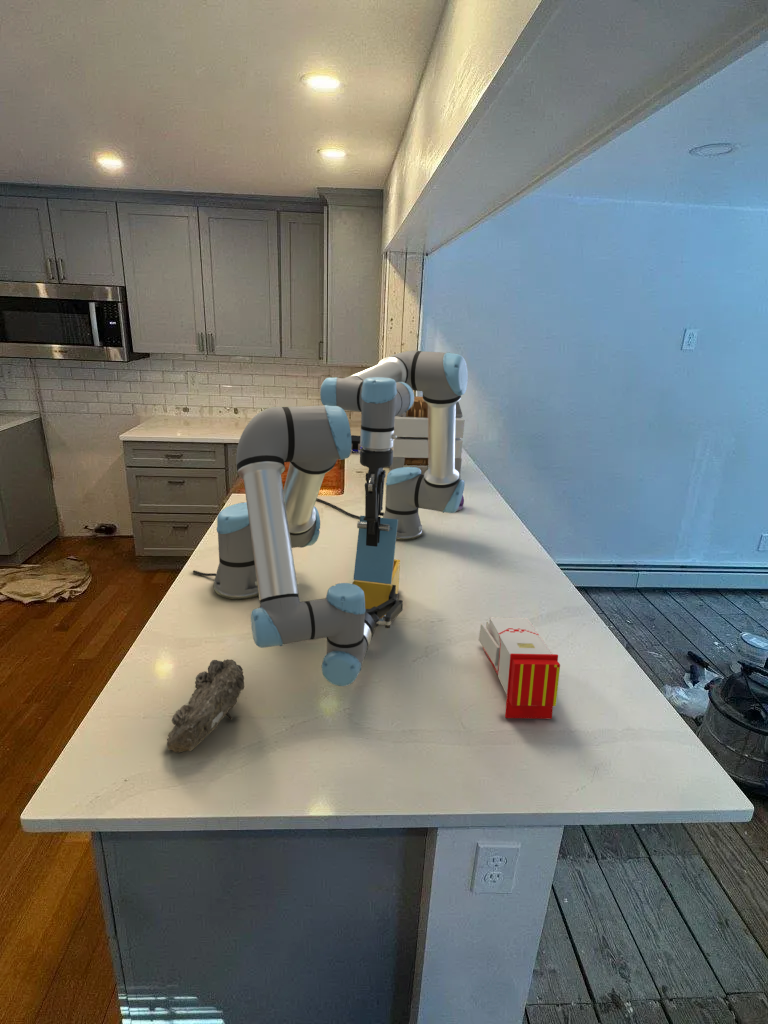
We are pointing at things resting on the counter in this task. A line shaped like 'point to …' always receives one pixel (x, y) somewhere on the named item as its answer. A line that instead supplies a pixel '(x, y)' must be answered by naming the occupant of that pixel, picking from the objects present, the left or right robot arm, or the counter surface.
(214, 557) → the counter surface
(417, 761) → the counter surface
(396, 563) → the chest
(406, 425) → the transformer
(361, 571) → the lid
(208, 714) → the fossil
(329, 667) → the left robot arm
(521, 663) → the toy
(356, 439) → the figurine character
